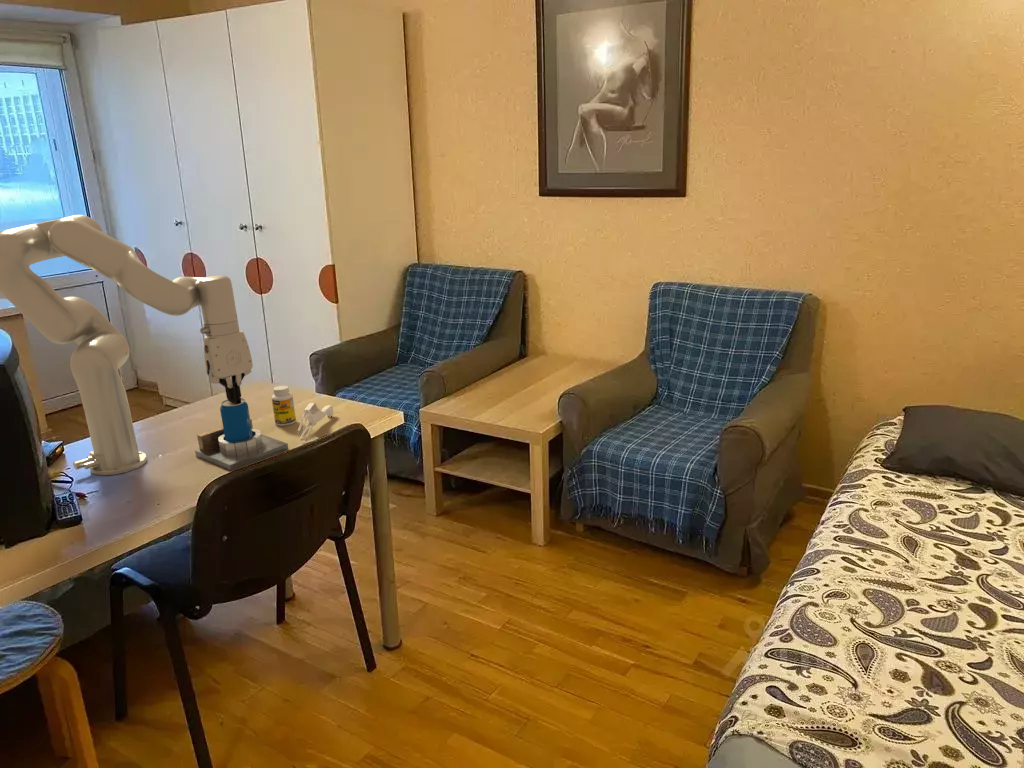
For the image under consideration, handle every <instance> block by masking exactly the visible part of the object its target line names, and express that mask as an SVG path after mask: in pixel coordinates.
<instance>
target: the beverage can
mask: <svg viewBox="0 0 1024 768" xmlns="http://www.w3.org/2000/svg"><path fill="white" fill-rule="evenodd" d="M220 404H221V406H220V408H219V411H220V416H221V417H220V418H221V424H222V426H223V429H224V435H225V441H228V442H237V441H243V440H247V439H250V438H252V437H253V434H252V428H251V422H250V419H251V417H250V411H249V404H248V402H246V399H245V398H242V397H241V401H240V402H237V403H232V402H229V401H228V399H226V400H223V401H222V402H221V403H220Z"/></svg>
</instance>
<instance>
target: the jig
mask: <svg viewBox="0 0 1024 768" xmlns="http://www.w3.org/2000/svg"><path fill="white" fill-rule="evenodd" d="M252 421H253V420H252V419H251V418H250V422H251V428H252V434H253V437H252V438H250V439H247V440H243V441H237V442H228V441H225V435H224V429H223V425H222V426H220V427H217V428H213V429H210V430H207V431H205V432H201V433H198V434H197V435H196V436H197V441H198V448H199V449H196V450H194V452H195V457H197V458H199V457H200V459H201V458H202V460H204V461H207V462H209V463H211V464H213V465H216V466H217V467H218V466H219V467H221V468H223V469H225V470H228V471H230V472H232V471H235V470H237V469H239V468H242V467H245V466H247V465H250V464H253V463H255V462H258V461H261V460H263V459H267V458H268V457H271V456H274V455H277V454H279V453H281V452H284V451H288V450H289V443H287V442H284V441H282V440H278V439H276V438H273V437H270V436H268V435H264V434H262V431H261V430H260V429H256V428H254V427H253V422H252Z"/></svg>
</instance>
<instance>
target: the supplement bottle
mask: <svg viewBox="0 0 1024 768" xmlns="http://www.w3.org/2000/svg"><path fill="white" fill-rule="evenodd" d="M271 402H272V410H273V416H274V423H275V425H276V426H279V427H285V426H290V425H293V424H295V423H296V421H297V419H296V417H297V416H296V411H295V410H296V409H295V404H294V403H295V402H294V395H293V394H292V392H290V389H289V386H287V385H278V386H275V387H274V388H273V395H272V396H271Z"/></svg>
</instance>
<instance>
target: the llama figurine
mask: <svg viewBox="0 0 1024 768" xmlns="http://www.w3.org/2000/svg"><path fill="white" fill-rule="evenodd" d="M303 412H304V413H303V414H302V416H301V420H300V424H299V426H298V429H297V430H296V433H297V434H299V435H300V434H301V435H300V437H299V440H303V437H304V435H305V434H306V435H305V437H304V440H305V441H306V440H307V438H308V436H309V435H310V432H311V430H312V429H313V427H315V426H316V425H317V423H319V422H320V421H322V420H323V419H324V418H325V417H327V418H332V417H331V416H333V417H334V406H333V405H331V404H329V405H324V407H323V408H322V409H320V408H319V407H318V406H317V404H316V402H309V403H308V405H307V406H306V407H305V408H304V410H303ZM328 416H330V417H328ZM304 418H305V419H304ZM307 421H308V422H307ZM303 422H304V425H303ZM302 425H303V428H302ZM309 427H310V428H309ZM308 429H309V430H308ZM307 430H308V432H307ZM300 431H301V432H300ZM306 432H307V433H306Z"/></svg>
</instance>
